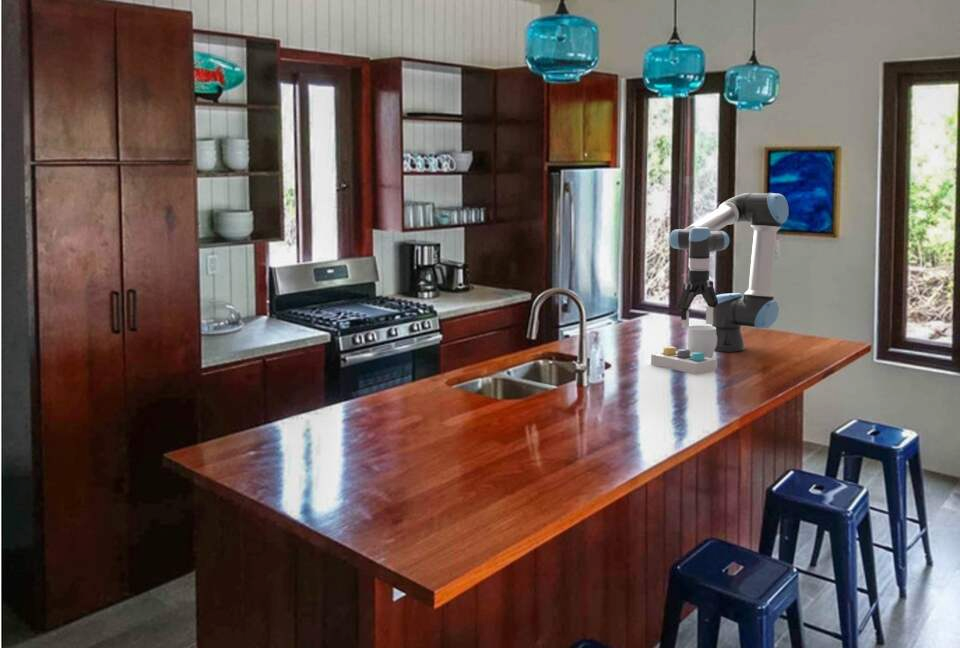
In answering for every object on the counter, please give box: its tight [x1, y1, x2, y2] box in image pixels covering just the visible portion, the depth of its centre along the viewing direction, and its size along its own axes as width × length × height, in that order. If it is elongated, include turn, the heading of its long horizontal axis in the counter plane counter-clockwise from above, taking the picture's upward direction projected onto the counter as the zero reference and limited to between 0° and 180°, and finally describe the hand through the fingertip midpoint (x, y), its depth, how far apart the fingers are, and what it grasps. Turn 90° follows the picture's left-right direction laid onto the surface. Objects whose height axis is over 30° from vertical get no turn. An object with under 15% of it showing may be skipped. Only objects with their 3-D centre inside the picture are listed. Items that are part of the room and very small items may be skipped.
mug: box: [686, 324, 717, 358], centre depth 352 cm, size 15×11×13 cm
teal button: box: [691, 352, 705, 362], centre depth 334 cm, size 5×5×4 cm
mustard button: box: [662, 345, 677, 356], centre depth 345 cm, size 5×5×4 cm
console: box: [650, 350, 718, 375], centre depth 340 cm, size 12×22×4 cm, turn 36°
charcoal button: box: [676, 348, 690, 359], centre depth 340 cm, size 5×5×4 cm
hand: (697, 326), depth 332 cm, fingers open, 13 cm apart
